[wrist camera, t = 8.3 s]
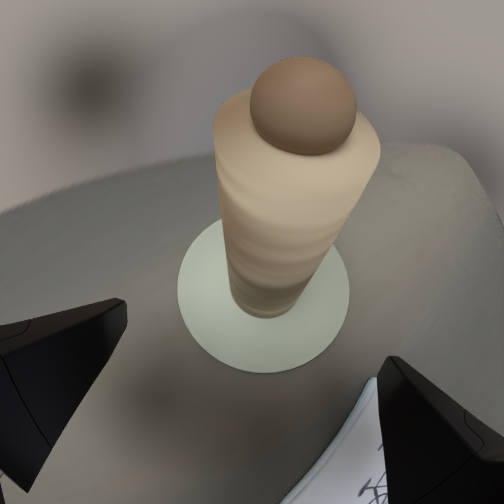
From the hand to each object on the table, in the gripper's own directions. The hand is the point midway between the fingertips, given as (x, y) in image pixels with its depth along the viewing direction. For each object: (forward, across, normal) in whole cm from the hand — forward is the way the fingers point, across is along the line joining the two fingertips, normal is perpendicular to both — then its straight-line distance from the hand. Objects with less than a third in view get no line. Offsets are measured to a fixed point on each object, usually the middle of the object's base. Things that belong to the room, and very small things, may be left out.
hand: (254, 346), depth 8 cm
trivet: (+10, 0, +2) cm, 10 cm away
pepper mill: (+9, 0, +2) cm, 9 cm away
